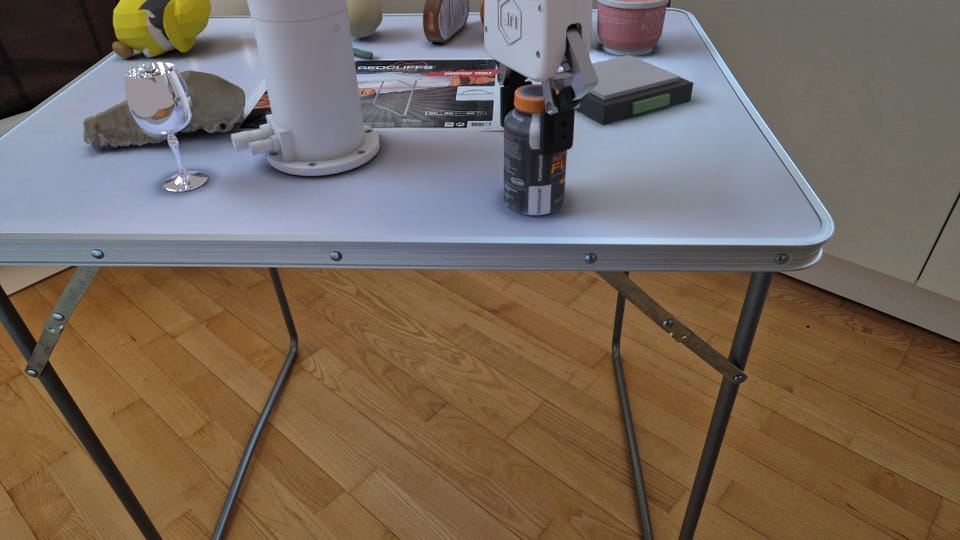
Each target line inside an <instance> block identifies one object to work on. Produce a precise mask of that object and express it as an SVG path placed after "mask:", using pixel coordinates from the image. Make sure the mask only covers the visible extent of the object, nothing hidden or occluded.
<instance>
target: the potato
mask: <svg viewBox="0 0 960 540" xmlns="http://www.w3.org/2000/svg"><path fill="white" fill-rule="evenodd" d="M346 2H347V9H348V16H349V23H350V31H351V37H352V38H353V37H354V38H358V39H359V38H361V39H362V38H368V37H370V36H371V35H373V34H374V33H375V32H376V30H377V29H378V28H379V27H380V25H381V24H382V21H383V11H382V8H381V6H380V4H379V1H378V0H346Z"/></svg>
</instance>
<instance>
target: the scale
mask: <svg viewBox="0 0 960 540" xmlns="http://www.w3.org/2000/svg"><path fill="white" fill-rule="evenodd" d="M591 63H592V65H593V67H594V70H595V72H596V75H597V78H598V84H597V85H596V86H595V87H594V88H593V89H592V90H591V91H590V92H589V93H588V94H587V95H586V97H585V98H584V99H583V100H582V101H581V102H580V106H579V107H578V108H575V111H577V112H579V113H581V114H582V115H585V116H586V117H588V118H590V119H592V120H594V121H595V122H597V123H599V124H600V125H602V126H603V125H608V124H610V123H611V124H612V123H614V122H618V121H621V120H626V119H630V118H633V117H638V116H640V115H644V114H647V113H651V112H655V111H659V110H662V109H665V108H669V107H673V106H677V105H680V104H684V103H687V102H691V100H692V96H693V90H694V89H693V87H694V82H693V81H690V80H689V79H686V78H684V77H681V75H679V74H676V73H673V72H671V71H668V70H666V69H664V68H662V67H659V66H657V65H654V64H652V63H649V62H647V61H644V60H642V59H640V58H638V57H636V56H630V55H627V56H619V57H614V58H611V59H605V60H600V61H596V62H591ZM562 71H563V69H562V70H558V72H562ZM558 72H557V73H558ZM554 83H555V88H556V89H557V90H558V91H559V92H560V91H561V90H562V89H563V88H564V87H565V86H564V80H563V79H562V80H558V81H554Z"/></svg>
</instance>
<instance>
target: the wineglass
mask: <svg viewBox="0 0 960 540" xmlns="http://www.w3.org/2000/svg"><path fill="white" fill-rule="evenodd" d="M180 72H181V71H179V69H178V67H177V66H176V65H175V64H174V63H171V62H165V61H164V62H163V61H162V62H161V61H160V62H159V61H158V62H149V63H143V64H139V65H136V66H133V67H130V68H128V69H127V70H126V71H125V72H124V73H123V77H124V91H125V98H126V100H127V103H128V106H129V109H130V112H131V115H132V117H133V118H134V120H135V122H136V123H137V124H138V125H139V126H140V127H141V128H142V129H144V130H145V131H147V132H150V133H153V134H159V135H168V138H167V139H166V140H167V144H168V146H169V148H170V149H171V151H172V153H173V155H174V157H175V161H176V163H177V166H178V167H177V168H178V173H175V174H173V175H171V176H169V177H168V178H167V179H165V180H164V182H163V185H162V186H163V189H165V190H166V191H168V192H171V193H183V192H188V191H192V190H195V189H197V188H200V187H202V186H203V185H204V184H206V183H207V181H208V179H209V177H208V175H207V174H206V173H205V172H202V171H197V170H190V171H189V170H188V171H187V169H186V168H185V165H184V164H183V161H182V158H181V154H180V144H179V143H180V142H179V139H178V137H177V135H174V133H176V132H177V133H178V132H181V131H180V130H182V129H183V128H185V127H186V126H187V125H188V124H189V123H190V121H191V119H192V117H193V102H192V98H191V95H190V92H189V90H188V88H187V86H186V84H185V82H184V80H183V78H182V76H181V74H180Z"/></svg>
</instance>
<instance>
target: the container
mask: <svg viewBox="0 0 960 540" xmlns="http://www.w3.org/2000/svg"><path fill="white" fill-rule="evenodd" d="M597 2H598V5H597V16H596V17H597V19H596V20H597V22H596V24H597V25H596V34H597V37H598V40H599V42H600V43H601V45H602V50H603V51H605V52H606V53H608V54H612V55H616V56H621V57H623V56H627V55H630V56H633V57H638V56H644V55H647V54H649V53H652V51H653V50H654V47H655V46H656V45H657V44H658V43H659V42H660V39H661V38H662V35H663V29H664V23H665V18H666V12H667V4H668V3H669V2H670V0H597Z"/></svg>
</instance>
